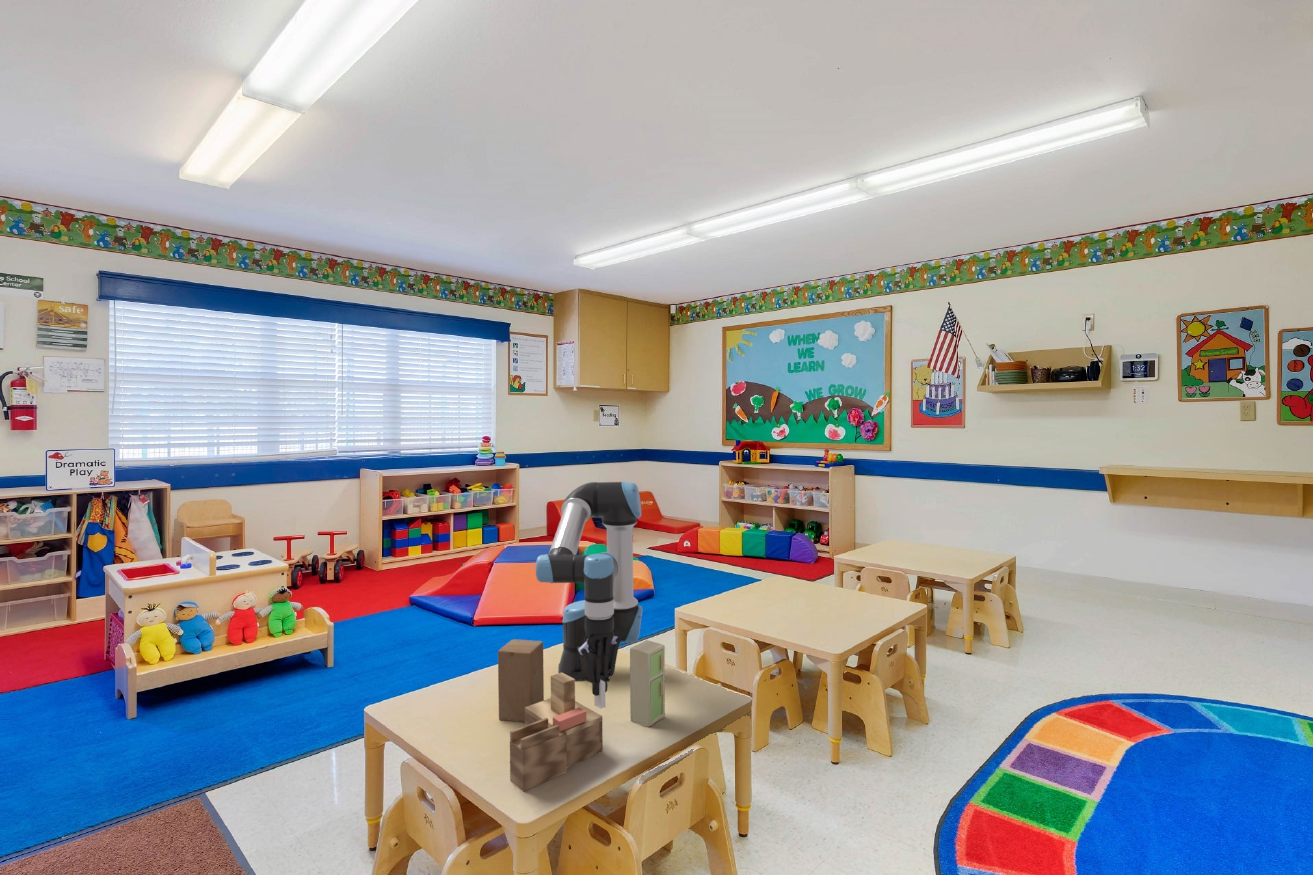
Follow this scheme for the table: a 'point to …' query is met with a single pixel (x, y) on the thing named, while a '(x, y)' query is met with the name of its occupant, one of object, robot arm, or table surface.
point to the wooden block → (519, 678)
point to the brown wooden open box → (548, 750)
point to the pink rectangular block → (570, 719)
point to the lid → (562, 704)
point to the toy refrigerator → (647, 683)
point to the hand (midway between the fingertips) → (599, 705)
